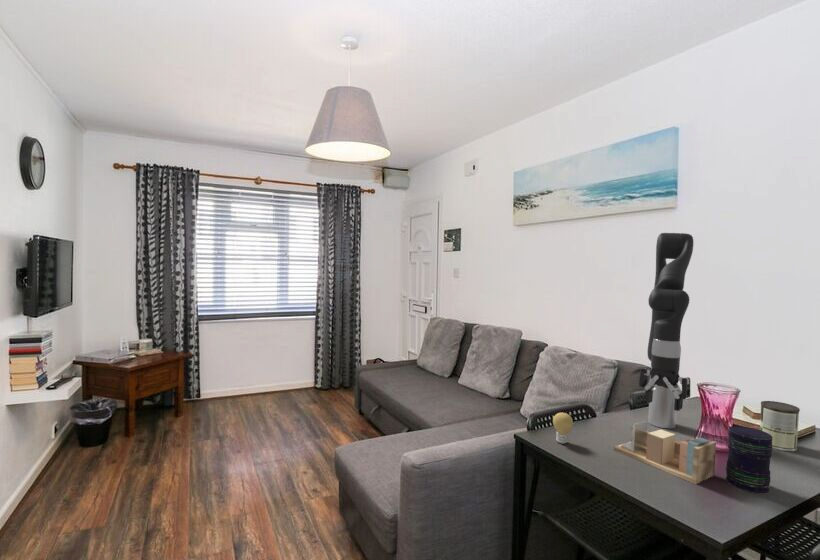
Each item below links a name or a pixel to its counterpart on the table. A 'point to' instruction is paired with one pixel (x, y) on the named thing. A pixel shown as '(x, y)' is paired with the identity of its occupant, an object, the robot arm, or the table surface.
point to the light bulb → (562, 426)
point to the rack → (683, 459)
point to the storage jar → (749, 459)
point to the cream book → (660, 446)
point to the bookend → (637, 437)
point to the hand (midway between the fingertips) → (662, 406)
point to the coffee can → (780, 424)
